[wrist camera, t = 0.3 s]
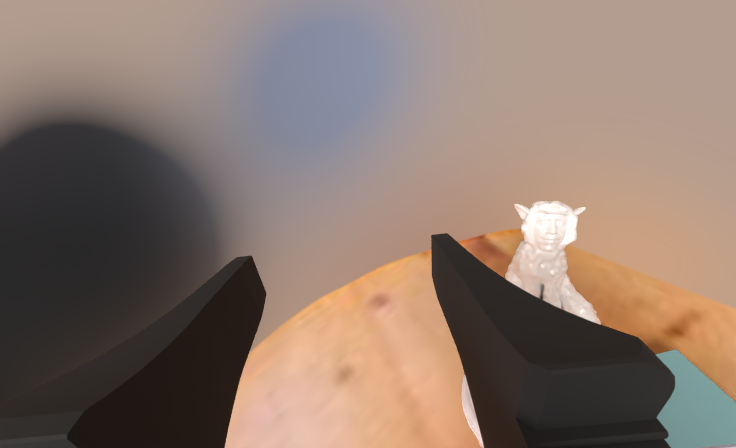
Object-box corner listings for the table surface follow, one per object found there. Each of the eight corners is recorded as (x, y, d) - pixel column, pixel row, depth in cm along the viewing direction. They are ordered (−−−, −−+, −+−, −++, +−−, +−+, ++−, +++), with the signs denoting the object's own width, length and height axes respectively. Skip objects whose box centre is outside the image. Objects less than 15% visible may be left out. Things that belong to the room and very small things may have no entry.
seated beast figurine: (491, 330, 31) (493, 239, 24) (484, 271, 38) (485, 186, 31) (600, 338, 28) (637, 236, 21) (572, 272, 35) (594, 179, 28)
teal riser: (815, 512, 17) (844, 498, 16) (663, 550, 17) (679, 539, 16) (665, 367, 25) (676, 349, 23) (559, 393, 25) (564, 377, 23)
